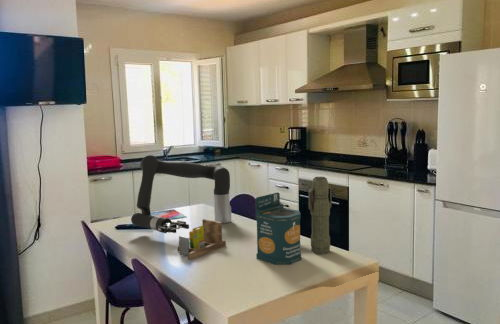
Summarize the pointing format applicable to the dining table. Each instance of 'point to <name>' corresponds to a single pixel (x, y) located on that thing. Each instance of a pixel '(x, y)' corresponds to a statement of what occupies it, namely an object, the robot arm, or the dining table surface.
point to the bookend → (184, 245)
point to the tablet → (169, 214)
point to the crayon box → (197, 238)
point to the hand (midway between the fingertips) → (182, 228)
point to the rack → (208, 239)
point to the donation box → (277, 231)
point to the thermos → (320, 214)
